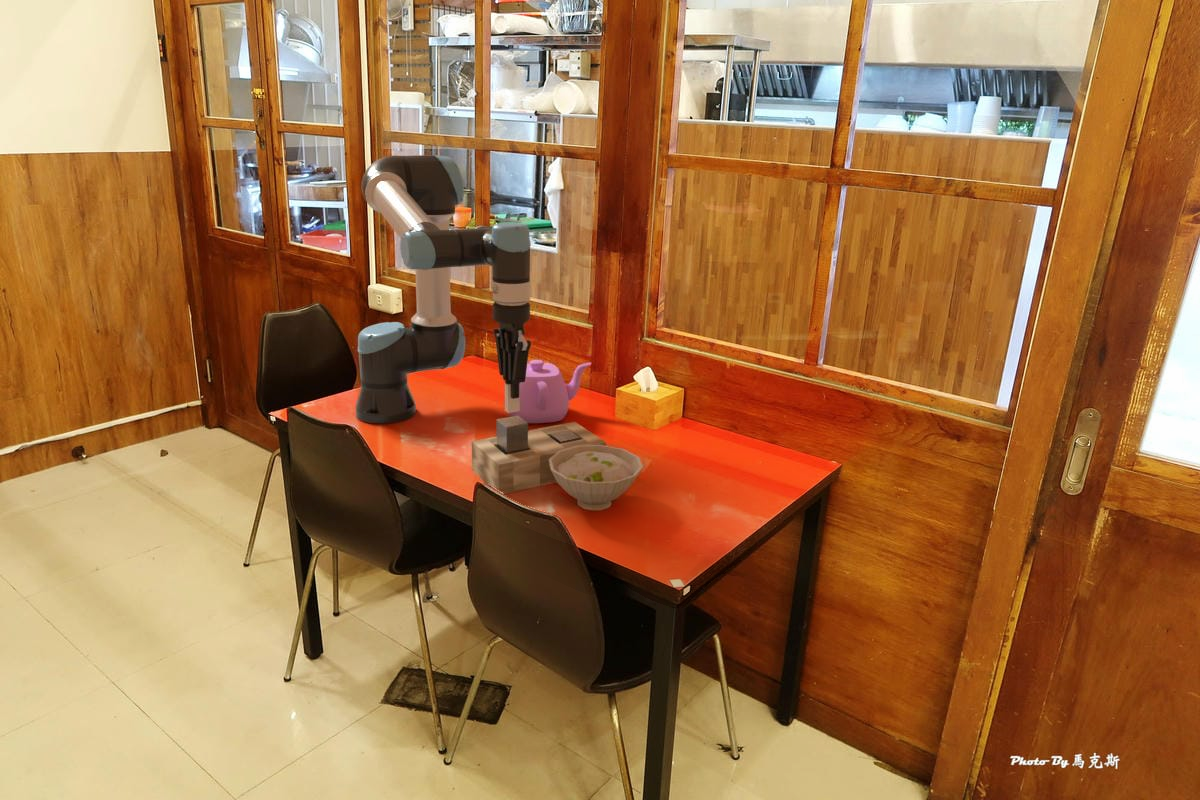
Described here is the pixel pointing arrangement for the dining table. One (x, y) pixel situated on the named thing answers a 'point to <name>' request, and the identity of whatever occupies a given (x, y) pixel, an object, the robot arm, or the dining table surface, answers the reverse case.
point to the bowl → (595, 473)
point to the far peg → (564, 437)
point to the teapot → (546, 392)
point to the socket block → (525, 458)
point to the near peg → (512, 435)
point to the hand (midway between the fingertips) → (512, 410)
